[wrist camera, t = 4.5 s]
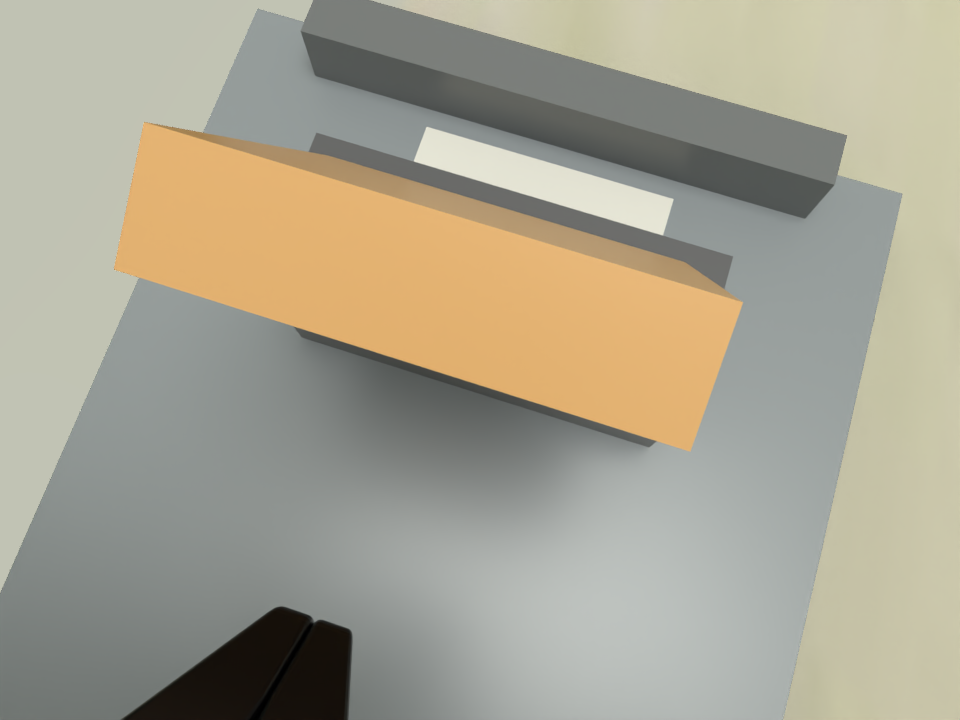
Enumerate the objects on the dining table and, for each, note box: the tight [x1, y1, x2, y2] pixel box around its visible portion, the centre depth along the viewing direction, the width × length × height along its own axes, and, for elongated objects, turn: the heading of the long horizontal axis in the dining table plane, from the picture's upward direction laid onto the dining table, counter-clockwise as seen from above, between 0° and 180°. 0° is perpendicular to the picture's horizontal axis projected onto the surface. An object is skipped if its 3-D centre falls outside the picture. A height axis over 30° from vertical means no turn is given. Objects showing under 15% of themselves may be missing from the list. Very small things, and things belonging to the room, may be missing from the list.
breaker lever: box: [114, 122, 743, 452], centre depth 12 cm, size 2×7×7 cm, turn 72°
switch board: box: [0, 0, 902, 720], centre depth 18 cm, size 21×16×5 cm
